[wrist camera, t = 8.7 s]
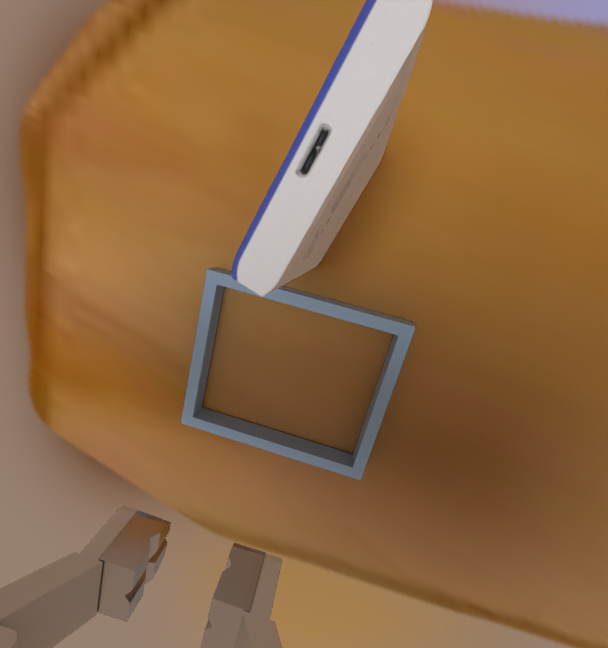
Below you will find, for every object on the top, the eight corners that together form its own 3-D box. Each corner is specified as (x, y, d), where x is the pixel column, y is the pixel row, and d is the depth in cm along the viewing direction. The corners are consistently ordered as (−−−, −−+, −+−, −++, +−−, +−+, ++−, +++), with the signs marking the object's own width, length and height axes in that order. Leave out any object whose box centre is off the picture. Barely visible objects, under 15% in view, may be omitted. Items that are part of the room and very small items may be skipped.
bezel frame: (411, 321, 21) (415, 327, 20) (360, 466, 24) (360, 480, 23) (216, 267, 22) (207, 269, 21) (190, 413, 25) (180, 423, 24)
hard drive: (295, 258, 21) (223, 273, 9) (364, 137, 19) (383, -41, 7) (315, 270, 21) (268, 302, 9) (386, 151, 19) (443, -4, 7)
